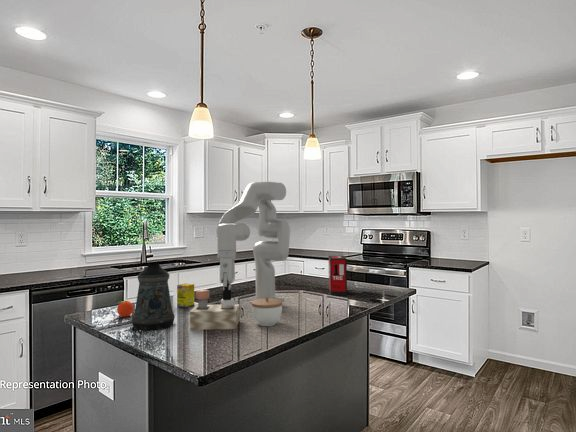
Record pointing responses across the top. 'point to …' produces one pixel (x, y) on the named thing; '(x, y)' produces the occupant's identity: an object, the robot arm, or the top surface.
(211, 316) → the button box
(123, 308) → the clementine
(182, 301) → the supplement box
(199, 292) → the terracotta button
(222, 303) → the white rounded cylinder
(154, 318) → the beer stein
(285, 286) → the top surface
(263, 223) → the robot arm
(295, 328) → the top surface
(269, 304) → the lidded bowl
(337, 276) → the cleaning product box
